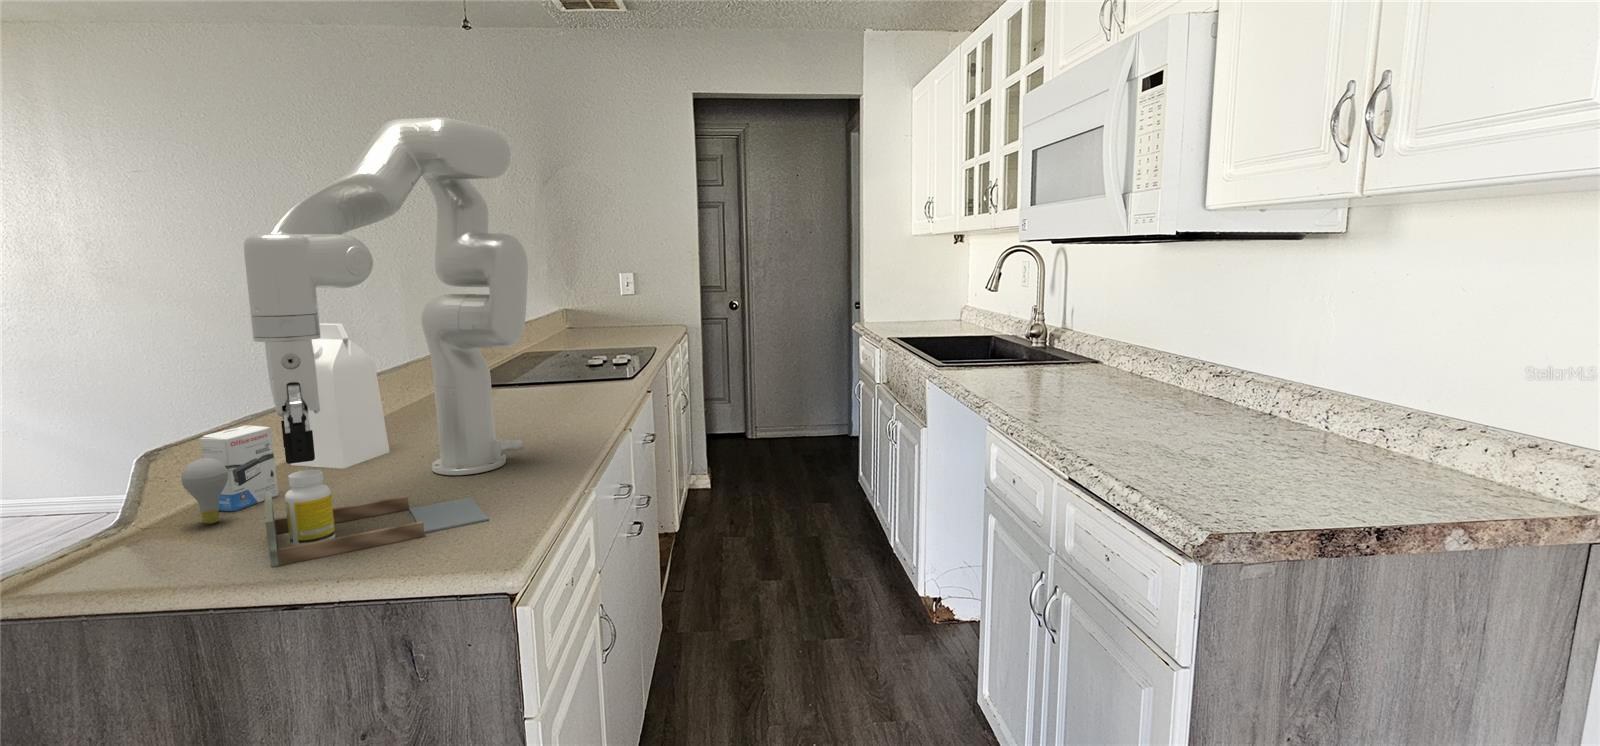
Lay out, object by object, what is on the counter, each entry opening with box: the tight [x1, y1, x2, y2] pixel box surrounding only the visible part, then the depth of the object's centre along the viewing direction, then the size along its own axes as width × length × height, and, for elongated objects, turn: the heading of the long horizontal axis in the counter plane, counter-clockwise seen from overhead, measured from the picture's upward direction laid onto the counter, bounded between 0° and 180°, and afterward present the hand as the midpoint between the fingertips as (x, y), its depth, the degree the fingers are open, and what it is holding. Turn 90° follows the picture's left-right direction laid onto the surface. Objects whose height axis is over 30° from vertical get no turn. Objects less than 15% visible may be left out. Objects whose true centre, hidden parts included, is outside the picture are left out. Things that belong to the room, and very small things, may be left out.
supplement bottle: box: [284, 468, 336, 546], centre depth 108 cm, size 5×5×10 cm
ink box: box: [199, 425, 279, 512], centre depth 125 cm, size 8×5×12 cm, turn 168°
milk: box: [289, 323, 390, 469], centre depth 149 cm, size 12×12×26 cm
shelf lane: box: [264, 492, 426, 568], centre depth 111 cm, size 18×15×6 cm
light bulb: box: [181, 457, 228, 526], centre depth 116 cm, size 6×5×10 cm
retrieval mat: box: [408, 497, 490, 534], centre depth 119 cm, size 9×12×1 cm
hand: (299, 454), depth 106 cm, fingers open, 9 cm apart
